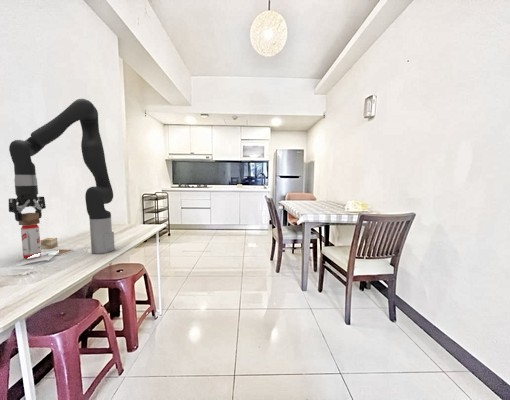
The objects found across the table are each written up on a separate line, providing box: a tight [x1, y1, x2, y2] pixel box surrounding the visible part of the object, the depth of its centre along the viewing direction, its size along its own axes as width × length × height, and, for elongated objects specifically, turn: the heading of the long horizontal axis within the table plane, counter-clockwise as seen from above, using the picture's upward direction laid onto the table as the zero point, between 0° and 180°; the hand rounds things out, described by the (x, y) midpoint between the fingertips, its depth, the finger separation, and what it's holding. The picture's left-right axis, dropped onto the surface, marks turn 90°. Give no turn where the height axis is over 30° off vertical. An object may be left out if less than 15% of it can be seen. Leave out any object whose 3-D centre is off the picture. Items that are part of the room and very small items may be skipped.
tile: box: [55, 248, 75, 256], centre depth 119 cm, size 8×8×1 cm
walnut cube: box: [18, 212, 41, 226], centre depth 110 cm, size 5×5×5 cm
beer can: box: [20, 224, 42, 260], centre depth 111 cm, size 6×6×16 cm
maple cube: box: [40, 237, 59, 250], centre depth 128 cm, size 5×5×5 cm
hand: (29, 219), depth 110 cm, fingers open, 8 cm apart
